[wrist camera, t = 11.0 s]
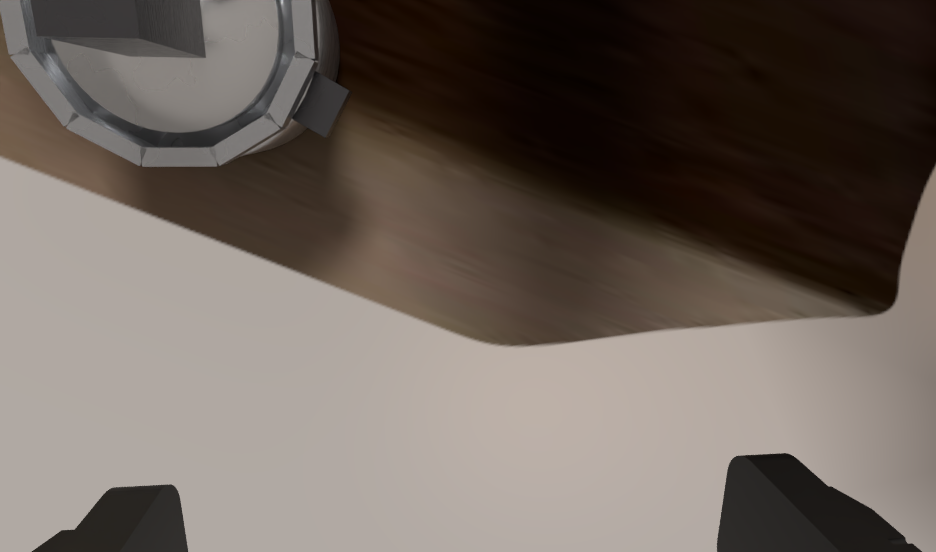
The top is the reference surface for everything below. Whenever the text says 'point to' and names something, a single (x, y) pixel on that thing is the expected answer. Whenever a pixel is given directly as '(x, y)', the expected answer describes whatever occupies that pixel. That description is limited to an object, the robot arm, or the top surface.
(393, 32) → the top surface
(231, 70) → the lid
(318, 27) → the pot
